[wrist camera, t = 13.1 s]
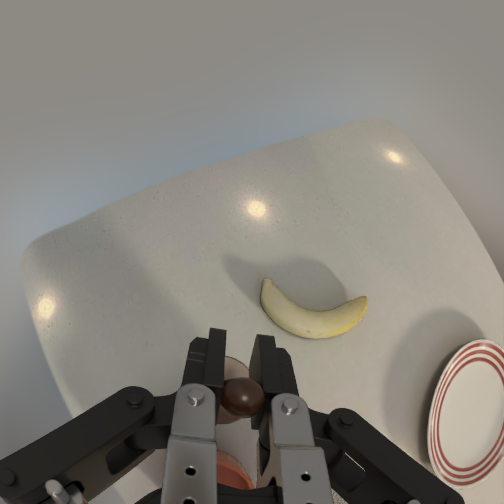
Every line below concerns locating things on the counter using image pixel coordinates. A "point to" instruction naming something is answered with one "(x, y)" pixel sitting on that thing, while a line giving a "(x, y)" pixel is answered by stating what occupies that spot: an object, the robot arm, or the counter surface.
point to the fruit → (310, 314)
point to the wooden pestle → (239, 393)
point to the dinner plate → (468, 416)
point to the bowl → (232, 472)
